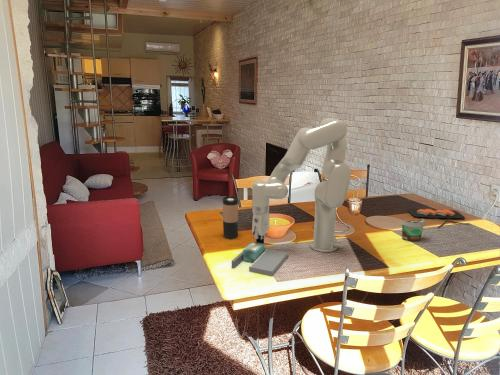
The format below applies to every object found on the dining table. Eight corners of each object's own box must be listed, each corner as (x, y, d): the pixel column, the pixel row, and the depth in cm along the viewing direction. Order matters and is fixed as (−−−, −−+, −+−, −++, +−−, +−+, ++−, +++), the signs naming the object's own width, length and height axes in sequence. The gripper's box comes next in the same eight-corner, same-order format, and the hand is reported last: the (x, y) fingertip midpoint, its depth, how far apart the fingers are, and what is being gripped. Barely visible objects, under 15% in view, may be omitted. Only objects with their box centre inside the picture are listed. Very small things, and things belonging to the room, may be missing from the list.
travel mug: (230, 232, 197) (229, 195, 192) (241, 236, 193) (241, 198, 188) (220, 236, 192) (219, 198, 187) (231, 240, 187) (230, 201, 182)
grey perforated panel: (287, 256, 169) (288, 250, 168) (272, 276, 151) (272, 269, 151) (250, 249, 176) (250, 243, 175) (231, 267, 158) (231, 261, 158)
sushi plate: (455, 213, 231) (456, 207, 231) (479, 230, 203) (480, 224, 202) (406, 211, 234) (406, 205, 233) (422, 228, 205) (423, 222, 204)
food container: (407, 243, 184) (409, 224, 181) (399, 239, 189) (401, 220, 187) (428, 241, 187) (431, 222, 184) (420, 236, 193) (422, 218, 190)
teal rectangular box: (264, 253, 171) (264, 243, 170) (255, 262, 162) (255, 251, 161) (252, 251, 174) (252, 241, 172) (243, 260, 165) (243, 249, 163)
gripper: (261, 214, 161) (261, 254, 166) (274, 205, 174) (273, 242, 179) (245, 212, 164) (245, 251, 169) (259, 203, 177) (258, 240, 182)
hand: (260, 246), depth 174 cm, fingers closed
